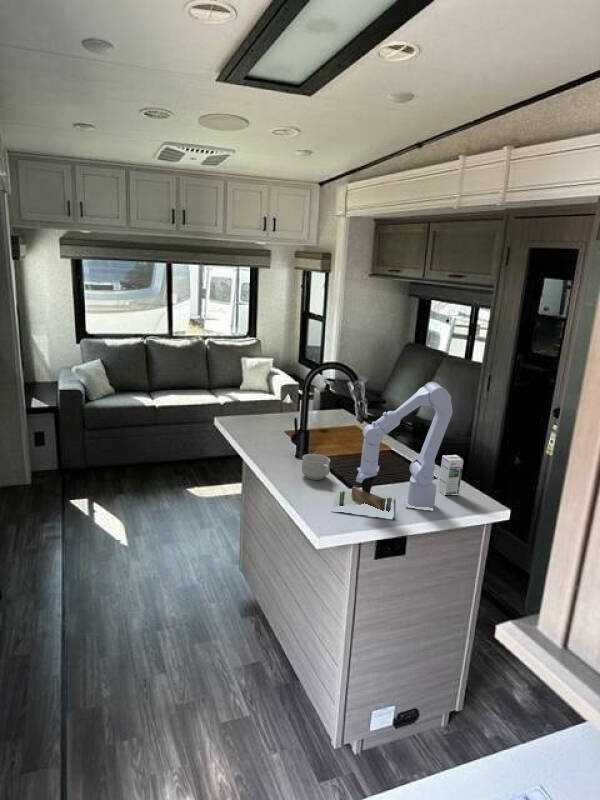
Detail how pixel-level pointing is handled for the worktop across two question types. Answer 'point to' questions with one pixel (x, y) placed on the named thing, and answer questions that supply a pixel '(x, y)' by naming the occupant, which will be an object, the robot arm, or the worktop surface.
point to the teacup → (315, 466)
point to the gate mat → (350, 500)
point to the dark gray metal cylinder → (342, 494)
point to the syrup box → (450, 474)
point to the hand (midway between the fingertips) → (365, 495)
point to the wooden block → (368, 498)
